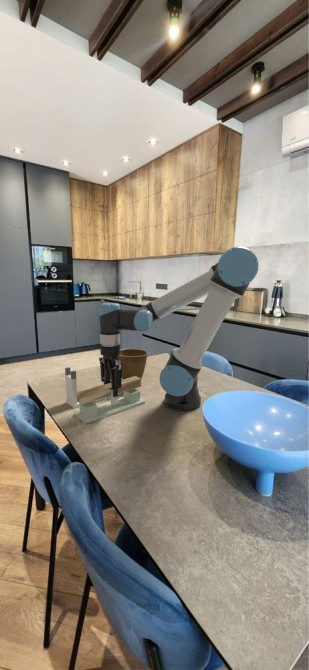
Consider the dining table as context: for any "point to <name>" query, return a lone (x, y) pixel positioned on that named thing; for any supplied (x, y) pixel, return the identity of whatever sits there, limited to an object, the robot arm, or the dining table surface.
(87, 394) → the rail
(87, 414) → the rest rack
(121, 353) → the plant pot
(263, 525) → the dining table surface
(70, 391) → the stand
